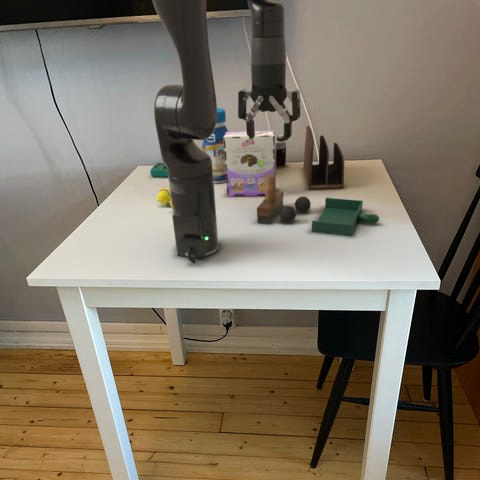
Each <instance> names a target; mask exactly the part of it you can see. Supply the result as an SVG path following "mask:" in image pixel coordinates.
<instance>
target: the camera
mask: <svg viewBox="0 0 480 480" xmlns="http://www.w3.org/2000/svg"><path fill="white" fill-rule="evenodd" d="M275 148H276V169H277V168H285V167H286V164H287V140H284V134H278V135H277V136H276V137H275Z"/></svg>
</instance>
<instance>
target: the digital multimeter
mask: <svg viewBox="0 0 480 480" xmlns="http://www.w3.org/2000/svg"><path fill="white" fill-rule="evenodd" d="M149 172H150V176H151V177H153V178H168V172H167V167H166V165H165V163H164V162H157V163H155V164H154V165H153V166H152V168H151V169H150V170H149Z"/></svg>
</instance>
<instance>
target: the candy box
mask: <svg viewBox="0 0 480 480" xmlns="http://www.w3.org/2000/svg"><path fill="white" fill-rule="evenodd" d="M275 138H276V130H274V129H273V130H255V136H254V138H253V139H249V136H247V130H246V131H228V132H226V133H225V135H224V137H223V142H224V155H225V169H226V182H225V183H226V196H227V197H253V196H254V197H262V196H263V197H265V175H268V174H274V175H276V176H277V168H276V148H275Z"/></svg>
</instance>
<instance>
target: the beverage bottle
mask: <svg viewBox="0 0 480 480" xmlns="http://www.w3.org/2000/svg"><path fill="white" fill-rule="evenodd" d="M226 116H227V115H226V110H225V109H224V108H222V107H221V108H219V107H217V120H216V126H215V129H214V131H213V133H212V135H211V136H210V137H209V138H207V139H205V140H202V141H201V150H202V151H204V152H205V153H207V154H208V155H209V156H210V157H211V160H212V167H213V180H214V184H223V183H226V169H225V155H224V142H223V137H224V135H225V133H226V132H229V130H228V127H226V125H225V123H226V119H227V117H226Z"/></svg>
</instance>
